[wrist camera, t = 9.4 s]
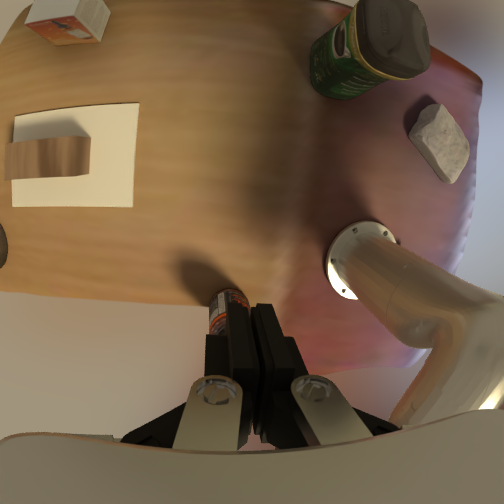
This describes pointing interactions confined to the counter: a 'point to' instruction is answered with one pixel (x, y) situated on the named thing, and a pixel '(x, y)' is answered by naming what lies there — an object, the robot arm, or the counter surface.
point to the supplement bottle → (223, 309)
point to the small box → (69, 20)
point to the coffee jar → (370, 49)
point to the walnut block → (48, 158)
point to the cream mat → (101, 156)
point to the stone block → (440, 142)
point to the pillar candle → (3, 247)
